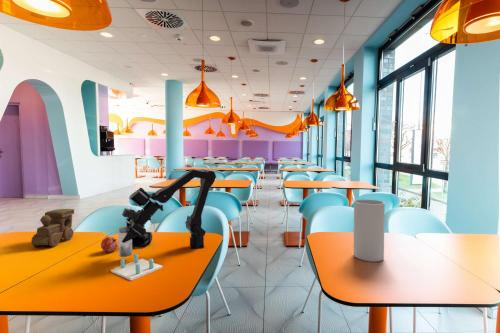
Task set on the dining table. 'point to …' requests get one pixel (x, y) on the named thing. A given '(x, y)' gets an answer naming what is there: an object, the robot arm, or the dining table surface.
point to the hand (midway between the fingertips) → (121, 240)
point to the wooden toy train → (54, 228)
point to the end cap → (142, 240)
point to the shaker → (126, 247)
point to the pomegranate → (109, 244)
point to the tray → (132, 269)
